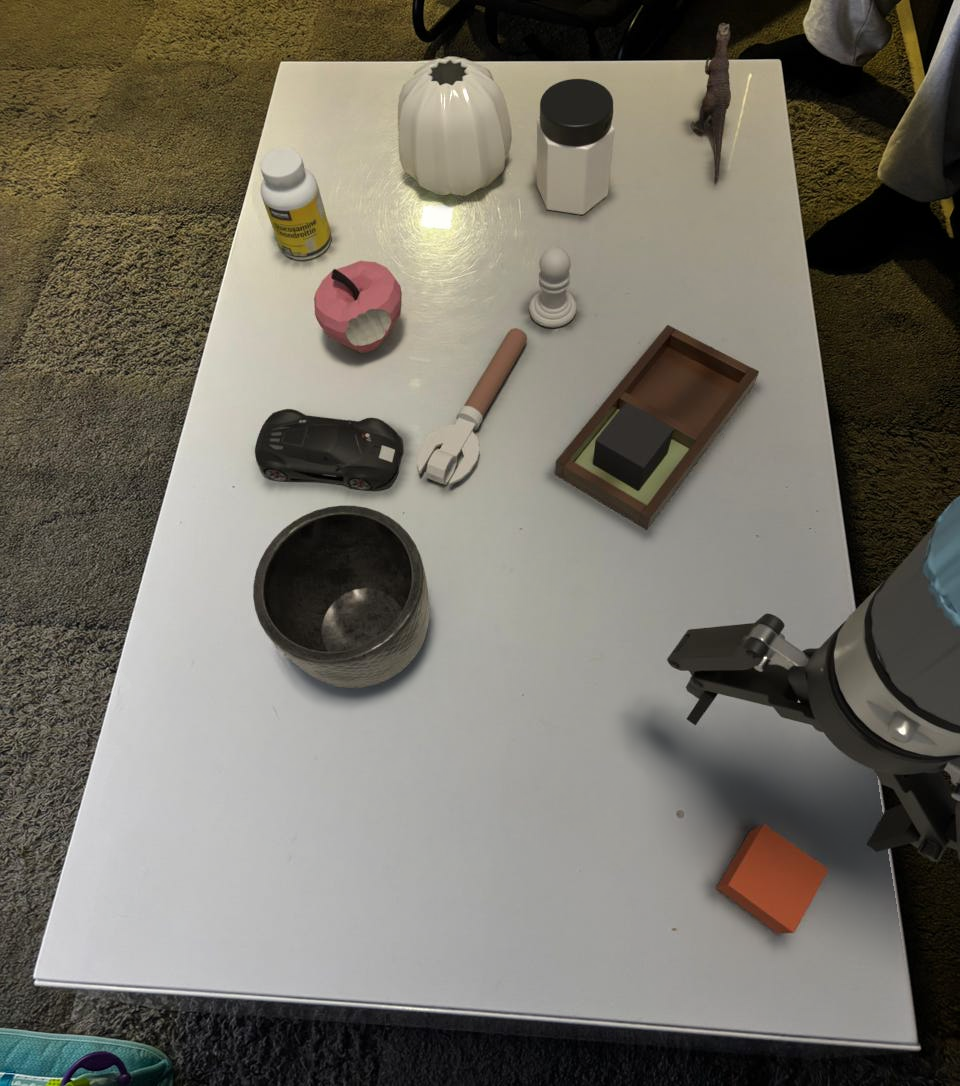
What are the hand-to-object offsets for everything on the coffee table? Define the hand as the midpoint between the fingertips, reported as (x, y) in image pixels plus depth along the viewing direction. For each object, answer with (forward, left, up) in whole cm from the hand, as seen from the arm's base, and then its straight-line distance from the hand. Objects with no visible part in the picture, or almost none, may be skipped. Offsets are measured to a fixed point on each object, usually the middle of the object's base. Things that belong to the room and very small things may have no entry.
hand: (787, 767), depth 56 cm
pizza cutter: (+42, -19, -15) cm, 49 cm away
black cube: (+25, -23, -14) cm, 37 cm away
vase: (+66, -47, -15) cm, 82 cm away
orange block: (-5, +4, -15) cm, 16 cm away
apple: (+58, -20, -15) cm, 63 cm away
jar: (+52, -52, -15) cm, 75 cm away
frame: (+25, -28, -15) cm, 40 cm away
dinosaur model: (+42, -68, -15) cm, 81 cm away
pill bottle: (+74, -27, -15) cm, 80 cm away
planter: (+35, +7, -15) cm, 39 cm away
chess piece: (+43, -35, -15) cm, 57 cm away
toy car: (+51, -5, -15) cm, 54 cm away
